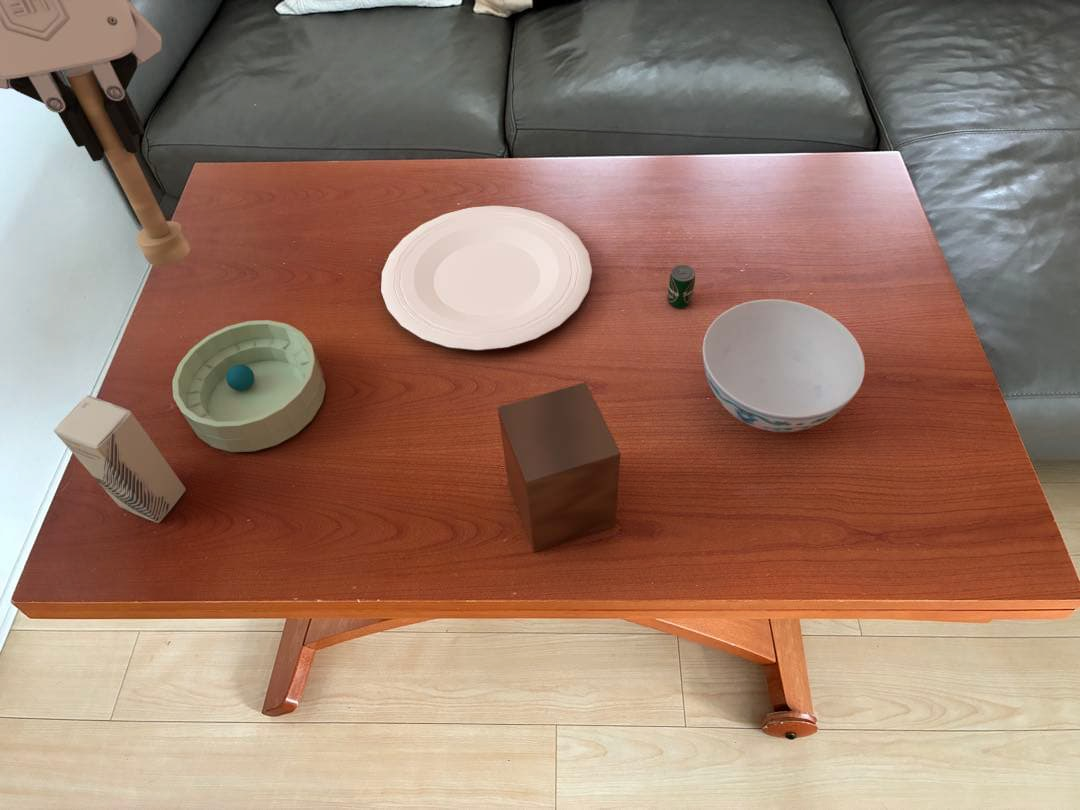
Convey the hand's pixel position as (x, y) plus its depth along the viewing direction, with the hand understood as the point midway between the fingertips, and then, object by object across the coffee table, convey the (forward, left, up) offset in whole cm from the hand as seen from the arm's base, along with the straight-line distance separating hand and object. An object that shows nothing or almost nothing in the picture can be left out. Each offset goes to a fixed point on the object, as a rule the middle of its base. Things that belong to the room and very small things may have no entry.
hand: (116, 145), depth 57 cm
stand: (+27, -23, -31) cm, 47 cm away
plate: (+29, +9, -31) cm, 44 cm away
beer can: (+49, -2, -31) cm, 58 cm away
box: (-10, -9, -31) cm, 34 cm away
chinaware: (+51, -19, -31) cm, 62 cm away
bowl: (+1, 0, -31) cm, 31 cm away
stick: (0, -1, -9) cm, 9 cm away
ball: (-1, +2, -29) cm, 29 cm away
